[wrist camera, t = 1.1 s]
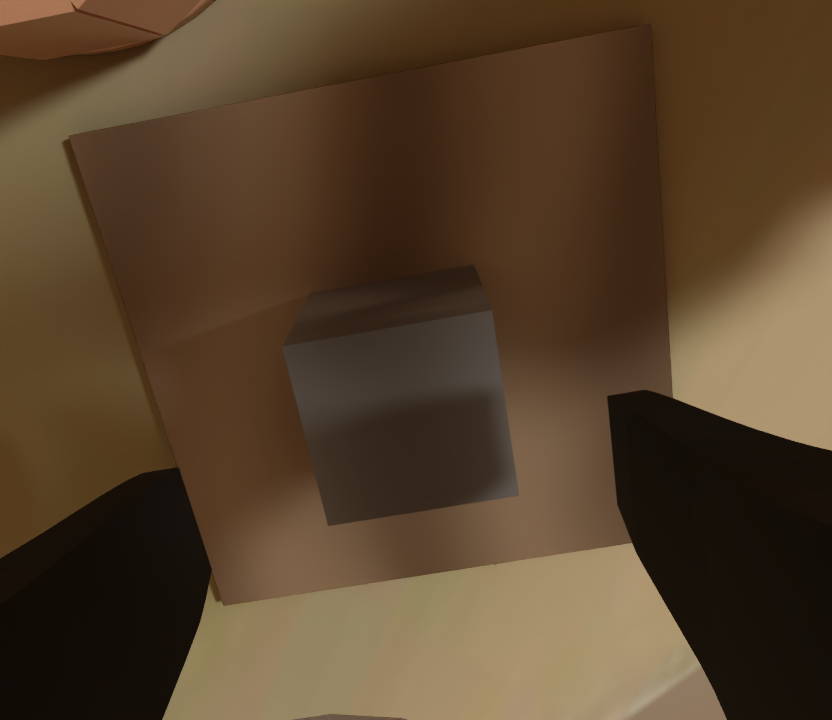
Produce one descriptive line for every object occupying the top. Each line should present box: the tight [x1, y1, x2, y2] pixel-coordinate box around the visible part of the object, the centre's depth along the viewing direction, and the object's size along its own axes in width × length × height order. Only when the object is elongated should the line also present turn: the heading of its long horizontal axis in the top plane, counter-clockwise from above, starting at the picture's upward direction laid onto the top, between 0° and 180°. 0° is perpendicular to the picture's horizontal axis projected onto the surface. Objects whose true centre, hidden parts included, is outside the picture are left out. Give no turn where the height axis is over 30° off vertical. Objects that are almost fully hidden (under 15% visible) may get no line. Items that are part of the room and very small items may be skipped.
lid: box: [69, 24, 673, 606], centre depth 16 cm, size 13×13×5 cm
